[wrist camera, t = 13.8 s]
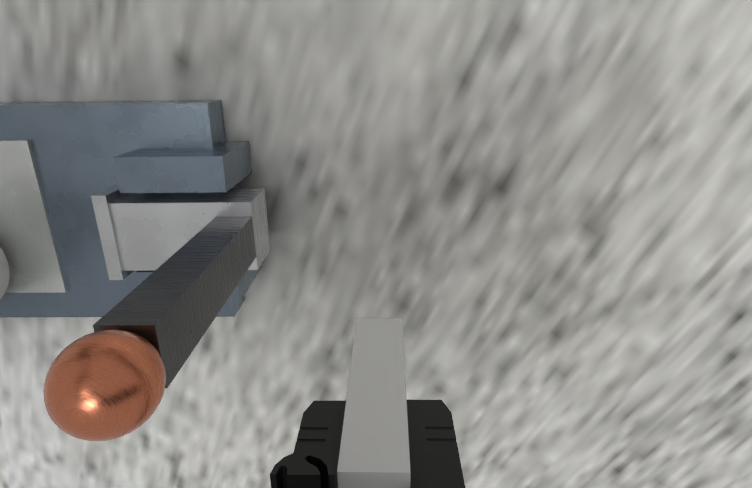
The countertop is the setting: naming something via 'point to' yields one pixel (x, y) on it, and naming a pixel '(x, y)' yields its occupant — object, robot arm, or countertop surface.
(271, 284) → the countertop surface
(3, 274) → the cup
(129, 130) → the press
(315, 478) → the robot arm
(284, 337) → the countertop surface
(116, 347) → the lever
